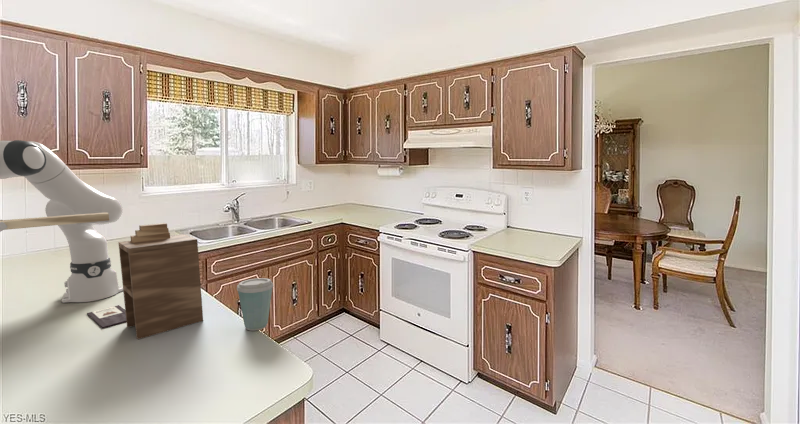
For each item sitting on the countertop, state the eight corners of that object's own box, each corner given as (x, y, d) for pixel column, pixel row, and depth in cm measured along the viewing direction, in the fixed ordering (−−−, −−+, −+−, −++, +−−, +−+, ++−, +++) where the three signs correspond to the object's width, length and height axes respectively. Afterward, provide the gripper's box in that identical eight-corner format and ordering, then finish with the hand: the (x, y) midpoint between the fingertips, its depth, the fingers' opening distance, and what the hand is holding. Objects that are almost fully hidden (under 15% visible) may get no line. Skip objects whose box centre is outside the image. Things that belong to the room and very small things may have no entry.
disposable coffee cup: (233, 326, 119) (230, 280, 117) (266, 316, 126) (264, 273, 124) (247, 337, 111) (244, 288, 109) (281, 326, 119) (279, 280, 117)
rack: (126, 326, 119) (116, 227, 115) (189, 310, 132) (182, 220, 128) (137, 339, 110) (127, 232, 106) (203, 320, 123) (196, 224, 119)
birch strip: (-17, 229, 92) (-18, 221, 91) (106, 219, 109) (106, 212, 109) (-17, 231, 89) (-19, 223, 89) (109, 220, 107) (108, 213, 106)
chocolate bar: (102, 327, 117) (87, 312, 128) (102, 330, 117) (87, 315, 129) (136, 317, 124) (118, 305, 135) (136, 320, 124) (119, 307, 136)
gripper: (-88, 256, 77) (-6, 216, 84) (-75, 242, 90) (-6, 209, 98) (-59, 279, 80) (17, 238, 87) (-51, 262, 93) (14, 228, 101)
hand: (5, 223), depth 93 cm, fingers closed on birch strip, 3 cm apart
